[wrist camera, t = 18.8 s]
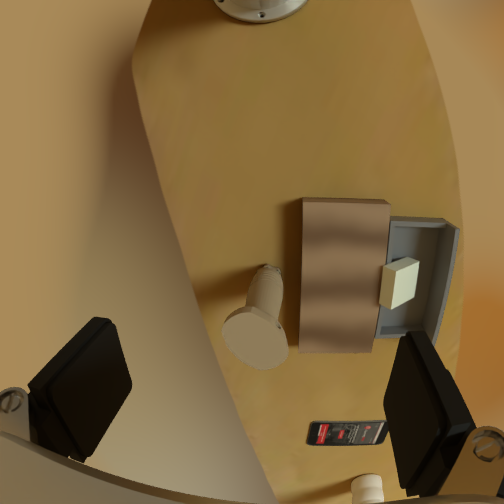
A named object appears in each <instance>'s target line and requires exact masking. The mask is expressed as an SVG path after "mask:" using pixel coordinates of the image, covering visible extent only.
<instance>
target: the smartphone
mask: <svg viewBox="0 0 504 504" xmlns="http://www.w3.org/2000/svg"><path fill="white" fill-rule="evenodd" d="M388 431H389V428H388V424H387V420H374V421H313V422H312V423H311V426H310V431H309V435H308V440H307V444H308V445H313V446H354V445H378V444H382V443H383V442H384V440H385V437H386V435H387V433H388Z"/></svg>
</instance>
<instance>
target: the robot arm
mask: <svg viewBox="0 0 504 504" xmlns="http://www.w3.org/2000/svg"><path fill="white" fill-rule="evenodd" d="M222 1H224V2H222ZM307 1H308V0H214V2H215V4H216V5H217V6H218V7H219V8H220V9H221V10H222V11H223V12H225V13H226V14H227V15H229V16H231V17H233V18H235V19H238V20H242V21H245V22H253V23H266V22H272V21H277V20H280V19H283V18H286V17H288V16H290V15H292V14H294V13H295V12H297V11H298V10H299V9H301V8H302V7H303V6H304V4H305V3H306V2H307ZM221 2H222V3H221ZM261 16H265V17H263V18H261ZM28 387H29V389H30V393H29V394H27V393H26V391H25V390H24V389H22V388H19V387H10V388H8V389H5V390H3V391H1V392H0V504H254V503H244V502H235V501H227V500H220V499H213V498H207V497H201V496H195V495H190V494H185V493H180V492H175V491H171V490H166V489H162V488H158V487H154V486H150V485H146V484H143V483H139V482H135V481H132V480H129V479H125V478H122V477H119V476H115V475H112V474H109V473H106V472H103V471H100V470H98V469H95V468H92V467H89V466H87V465H84V464H81V463H84V462H85V460H86V458H87V457H90V456H91V455H92V454H93V452H94V451H95V449H96V447H97V446H98V444H99V442H100V441H101V439H102V437H103V436H104V434H105V432H106V431H107V429H108V427H109V426H110V424H111V422H112V421H113V419H114V418H115V416H116V414H117V413H118V411H119V409H120V408H121V406H122V404H123V403H124V401H125V399H126V398H127V396H128V395H129V393H130V391H131V389H132V380H131V377H130V374H129V371H128V368H127V364H126V362H125V358H124V354H123V351H122V348H121V344H120V340H119V337H118V333H117V329H116V326H115V324H113V323H112V321H111V320H110V319H108V318H101V317H94V318H92V319H91V320H90V321H89V322H88V323H87V324H86V325H85V326H84V327H83V328H82V329H81V330H80V331H79V332H78V333H77V334H76V335H75V336H74V337H73V338H72V339H71V340H70V341H69V342H68V343H67V344H66V345H65V346H64V347H63V348H62V349H61V350H60V351H59V352H58V353H57V354H56V355H55V356H54V357H53V358H52V359H51V360H50V361H49V362H48V363H47V364H46V366H45V367H44V368H43V369H42V370H41V371H40V372H39V373H38V374H37V375H36V376H35V377H34V378H33V379H32V380H31V381H30V383H28ZM383 406H384V411H385V415H386V420H387V424H388V428H389V433H390V438H391V442H392V447H393V452H394V457H395V462H396V467H397V472H398V478H399V483H400V487H401V488H402V489H405V488H406V494H407V497H410V496H415V495H419V497H420V498H413V499H404V500H397V501H389V502H380V503H369V504H504V432H503V431H502V430H500V429H498V428H496V427H492V426H482V427H479V428H477V427H476V425H475V423H474V421H473V419H472V416H471V414H470V412H469V410H468V408H467V406H466V404H465V402H464V400H463V397H462V395H461V393H460V391H459V389H458V387H457V385H456V384H455V381H454V379H453V377H452V375H451V374H450V372H449V371H448V370H447V369H445V367H444V365H443V363H442V361H441V359H440V357H439V355H438V353H437V352H436V350H435V348H434V346H433V344H432V342H431V341H430V339H429V337H428V335H427V333H426V332H425V331H423V330H421V331H408V332H406V334H405V336H401V337H400V340H399V344H398V348H397V352H396V356H395V360H394V364H393V368H392V372H391V375H390V379H389V382H388V386H387V389H386V392H385V396H384V401H383ZM68 456H70V458H71V459H74V460H76V461H79V462H81V463H79V462H76V461H74V460H71V459H69V458H68Z"/></svg>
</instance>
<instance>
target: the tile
mask: <svg viewBox="0 0 504 504" xmlns="http://www.w3.org/2000/svg"><path fill="white" fill-rule="evenodd" d="M418 269H419V261H418V260H415V259H412V258H410V257H405V258H403V259H400V260H398V261H395V262H392V263H390V264H387V265H385V266H383V273H382V283H381V291H380V299H379V304H381V305H383V306H384V307H386V308H388V309H390V310H391V309H393V308H395V307H397V306H399V305H401V304H403V303H404V302H406V301H408V300H410V299H412V298H413V297H414V295H415V289H416V282H417V276H418Z"/></svg>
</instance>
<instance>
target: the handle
mask: <svg viewBox="0 0 504 504" xmlns="http://www.w3.org/2000/svg"><path fill="white" fill-rule="evenodd" d="M282 298H283V282H282V278H281V272H280V269H279V268H278V267H272V266H270V265H269V264H265V265H264V267H263V268H261V269H258V270H257V272H256V274H255V276H254V278H253V279H252V281H251V284H250V286H249V289H248V294H247V299H246V305H245V307H242V308H239V309H237V310H235V311H234V312H232V313H231V314H230V315H229V316H228V317H227V318H226V320H225V322H224V325H223V327H222V334H223V337H224V340H225V343H226V345H227V347H228V348H229V350H230V351H231V352H232V353H233V354H234V355H235V356H236V357H237V358H238V359H239V360H240V361H241V362H243V363H245V364H247V365H249V366H251V367H253V368H255V369H258V370H268V369H272V368H274V367H277V366H278V365H280V364H282V363H283V362H284V361H285V360H286V358H287V356H288V343H287V339H286V335H285V332H284V330H283V328H282V326H281V324H280V323H279V321H278V316H279V311H280V307H281V303H282Z"/></svg>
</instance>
